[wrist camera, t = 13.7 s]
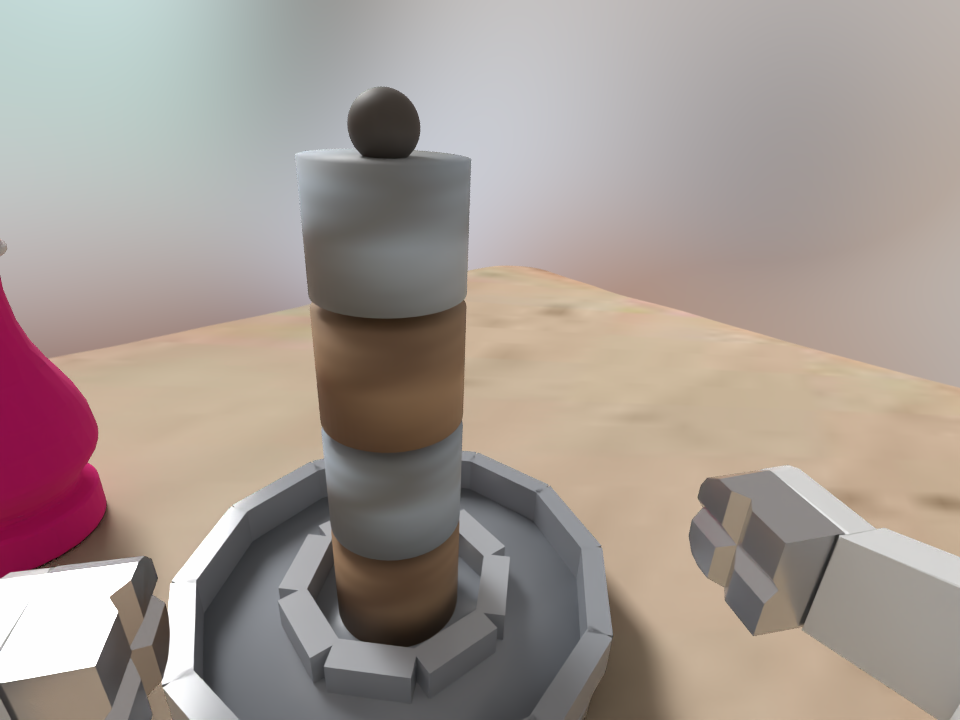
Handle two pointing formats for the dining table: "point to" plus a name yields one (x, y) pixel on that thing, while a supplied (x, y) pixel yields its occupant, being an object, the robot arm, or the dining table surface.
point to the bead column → (389, 364)
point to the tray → (378, 667)
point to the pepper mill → (42, 454)
